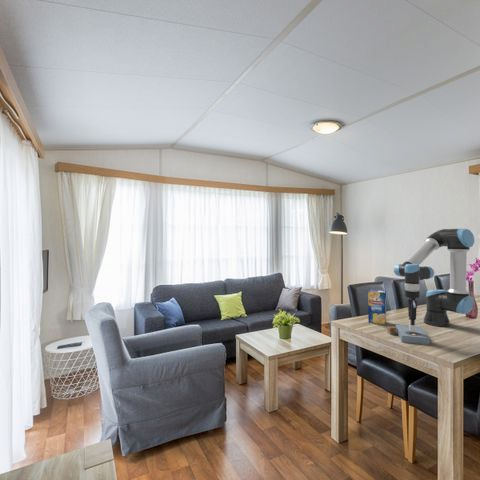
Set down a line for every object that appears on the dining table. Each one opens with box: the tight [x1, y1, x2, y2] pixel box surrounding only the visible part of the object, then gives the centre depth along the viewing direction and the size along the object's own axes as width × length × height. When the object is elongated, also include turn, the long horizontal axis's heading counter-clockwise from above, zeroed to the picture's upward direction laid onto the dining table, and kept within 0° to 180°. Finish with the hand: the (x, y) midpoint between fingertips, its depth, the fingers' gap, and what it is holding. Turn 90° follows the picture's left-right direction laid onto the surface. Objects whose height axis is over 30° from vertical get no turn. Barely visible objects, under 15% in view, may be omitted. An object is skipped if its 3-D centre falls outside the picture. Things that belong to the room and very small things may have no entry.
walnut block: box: [386, 325, 398, 336], centre depth 188 cm, size 4×4×4 cm
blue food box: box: [367, 289, 387, 325], centre depth 212 cm, size 7×11×22 cm, turn 61°
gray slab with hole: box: [394, 324, 431, 345], centre depth 181 cm, size 22×14×4 cm, turn 161°
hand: (412, 330), depth 178 cm, fingers closed
